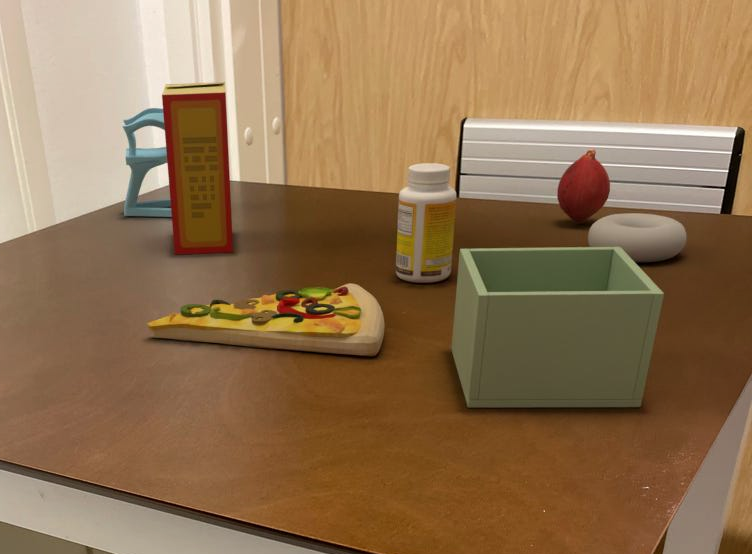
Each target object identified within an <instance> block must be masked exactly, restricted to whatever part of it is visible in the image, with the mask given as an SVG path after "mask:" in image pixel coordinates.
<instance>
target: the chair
mask: <svg viewBox="0 0 752 554" xmlns="http://www.w3.org/2000/svg"><path fill="white" fill-rule="evenodd" d="M122 122H123V123H124V125H122V128H123V131H124V133H125V135H126V138H127V143H128V148H126V149H125V162H126V163H125V165H126V166H129V168H130V177H129V182H128V187H127V192H126V196H125V199H124V205H123V207H124V209H123V212H124V213H123V216H124V217H159V218H161V217H162V218H163V217H164V218H172V213H171V201H170V198H163V199H154V200H146V201H138V198H139V195H140V191H141V187H142V185H143V182H144V179H145V177H146V175H147V173H148V172H149V171H150V170H152V169H155V168H157V167H159V166H162V165H165V164H167V152H166V146H162V147H154V148H153V147H152V148H151V147H150V148H143V147H141V148H139V147H137V140H136V135H135V133H136V131H138V130H140V129H143V128H144V127H155V128H159V129H161V130H163V131H165V127H164V115H163V108H160V107H150V108H149V107H148V108H146V109H144V110H142V111H140V112H139V113H137V114H136V115H134V116H132V117H130V118H127V119H123V120H122ZM134 132H135V133H134Z"/></svg>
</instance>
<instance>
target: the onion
mask: <svg viewBox="0 0 752 554" xmlns="http://www.w3.org/2000/svg"><path fill="white" fill-rule="evenodd" d="M596 154H597V153H596V149H595V148H590V149H588V150H587V151H586V152H585V153H584V154H582V155H581V156H580V157H579V158H578V159H577V160H575V161H573V163H572V164H570V165H569V166H568V168H566V169H565V171H564V172H563V174H562V176H561V177H560V180H559V182H558V186H557V193H556V194H557V197H556V198H557V202H558V204H559V208H560V209H561V210H562V211H563V213H564V214H566V215H567V216H568V217H569V218H570V220H572V221H573V222H574V223H576V224H578V225H579V224H581V225H582V224H584V223H585V222H586V221H587V220H588V219H590V218H591V217H593V216H594V215H595V214H596V213H598V212H599V211H600V210H601V209H602V208H603V207H604V206H605V204H606V202H607V201H608V199H609V196H610V192H611V181H610V176H609V174H608V172H607V170H606V168H605V167H604V166H603V164H602V163H601V162H600V161H599V160H598V159H596Z"/></svg>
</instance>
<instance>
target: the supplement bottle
mask: <svg viewBox="0 0 752 554" xmlns="http://www.w3.org/2000/svg"><path fill="white" fill-rule="evenodd" d="M407 172H408V173H407V183H406V184H407V185H408V186H406V187H404V188H402V189H401V190H400V192H399V194H398V204H397V205H398V206H397V208H398V209H397V229H396V230H397V233H396V234H397V236H396V253H395V254H396V257H395V273H396V276H397V277H398V278H399V279H401V280H402V281H405V282H408V283H416V284H432V283H439V282H441V281H444V280H446V279H447V278H449V276H451V272H452V264H453V263H452V262H453V250H454V249H453V248H454V235H455V222H456V221H455V220H456V210H457V209H456V208H457V190H455V189H454V188H453V187H452V186H449V185H450V180H451V167H450V165H447V164H443V163H435V162H432V163H431V162H430V163H428V162H427V163H426V162H425V163H416V164H412V165H410V166H409V167H408V171H407Z"/></svg>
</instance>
